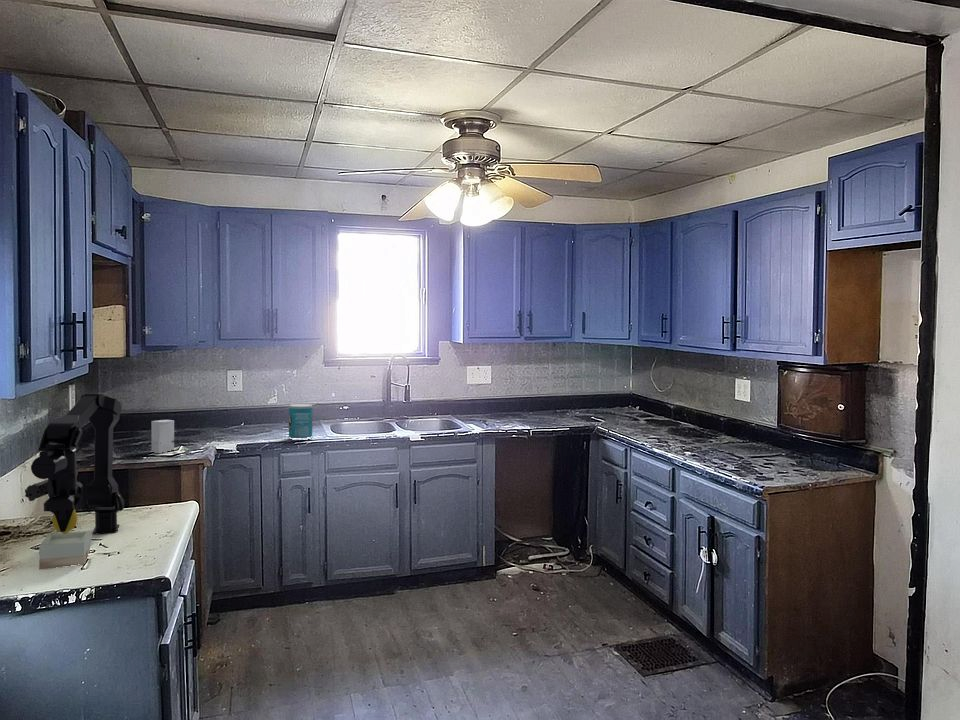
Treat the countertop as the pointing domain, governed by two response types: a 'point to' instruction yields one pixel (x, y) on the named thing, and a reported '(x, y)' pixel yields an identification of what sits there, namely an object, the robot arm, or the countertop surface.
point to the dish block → (65, 544)
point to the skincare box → (162, 436)
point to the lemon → (70, 526)
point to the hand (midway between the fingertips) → (65, 528)
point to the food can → (300, 420)
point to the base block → (62, 561)
